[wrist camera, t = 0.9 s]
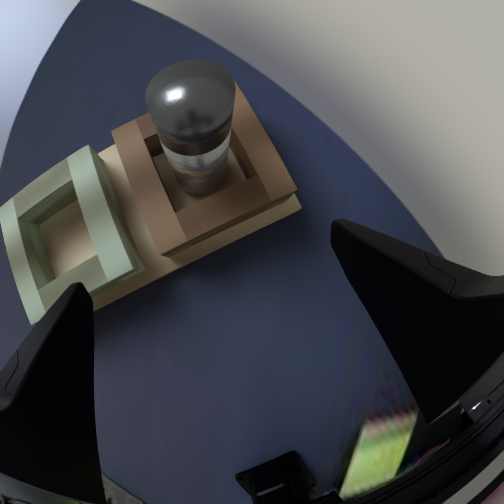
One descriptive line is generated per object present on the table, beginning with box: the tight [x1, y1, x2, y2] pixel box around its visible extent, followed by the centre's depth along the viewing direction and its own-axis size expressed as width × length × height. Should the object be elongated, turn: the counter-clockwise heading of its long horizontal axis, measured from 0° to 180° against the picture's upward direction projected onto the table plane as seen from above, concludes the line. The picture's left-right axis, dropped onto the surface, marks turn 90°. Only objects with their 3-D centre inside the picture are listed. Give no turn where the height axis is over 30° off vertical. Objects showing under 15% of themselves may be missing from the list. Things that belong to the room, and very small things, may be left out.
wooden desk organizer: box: [0, 81, 302, 325], centre depth 19 cm, size 12×24×4 cm, turn 117°
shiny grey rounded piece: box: [145, 59, 236, 197], centre depth 16 cm, size 4×4×11 cm
